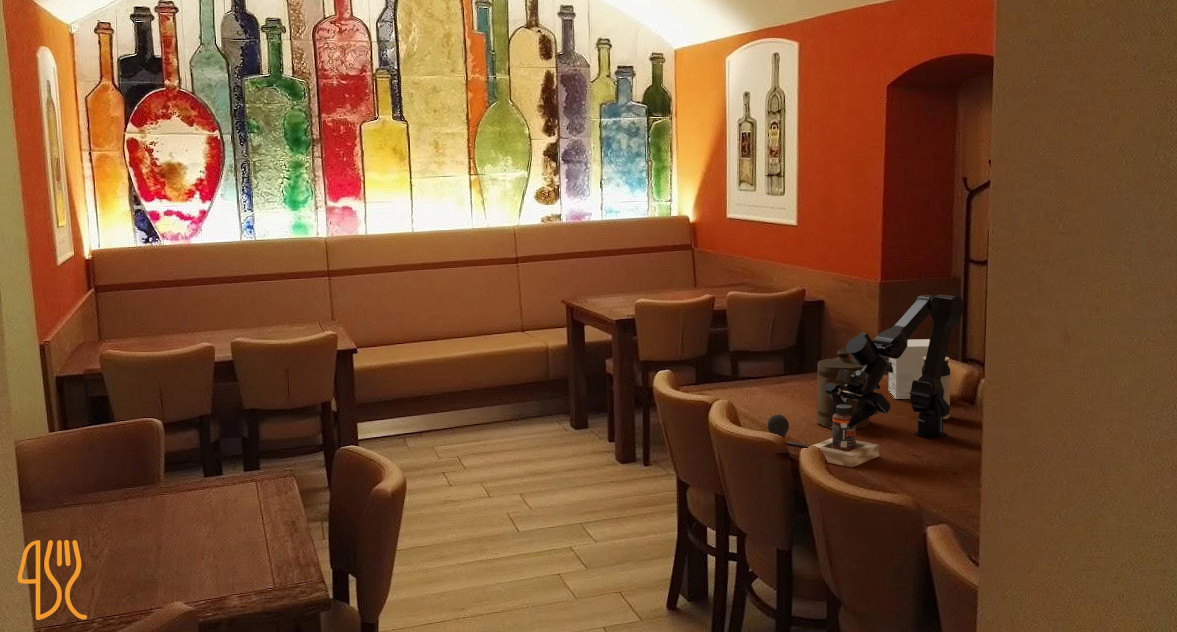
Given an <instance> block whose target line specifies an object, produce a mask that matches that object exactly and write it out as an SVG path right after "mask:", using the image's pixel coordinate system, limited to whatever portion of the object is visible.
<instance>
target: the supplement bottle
mask: <svg viewBox="0 0 1177 632" xmlns="http://www.w3.org/2000/svg"><path fill="white" fill-rule="evenodd" d="M836 411H837V412H836V413H835V414H834V415H833V424H832V425H833V426H832V428H831V431H832V435H831V436H832V437H831V438H832V446H833V448H834V449H836V450H841V451H851V450H854V449H855V447H856V441H857V429H856V425H855V426H853V427H851V428H850V427H849V426H848V424H849V422H850V419H851V418H852V416H853V413H852V406H851V405H837V406H836Z"/></svg>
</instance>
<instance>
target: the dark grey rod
mask: <svg viewBox="0 0 1177 632" xmlns="http://www.w3.org/2000/svg"><path fill="white" fill-rule="evenodd" d="M787 442H788V444H795V445H800V446H801V445H802V446H803V447H802V448H804V447H806V446H812V445H811V444H810V445H809V444H805V443H804V444H803V443H797V442H791V441H787Z"/></svg>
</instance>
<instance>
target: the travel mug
mask: <svg viewBox="0 0 1177 632" xmlns="http://www.w3.org/2000/svg"><path fill="white" fill-rule="evenodd" d="M923 360H924V364H925V360H926V356H925V357H923ZM949 360H950V357H948V356H946V357H945V362H944V366H943V371H942V375H941V383H942V386H943V388H944V397H943V398H944V400H945V401H946V402H947V403H948V405H949V406H950V405H951V404H950V403H951V400H950V398H951V367H950V365H949ZM923 369H924V365H923V367H922V373H923ZM950 407H951V406H950ZM950 412H951V411H950ZM950 412H949V415H946V416H945V417H943V419H945V420H947V419H949V418H950V414H951V413H950Z"/></svg>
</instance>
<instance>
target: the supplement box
mask: <svg viewBox="0 0 1177 632" xmlns="http://www.w3.org/2000/svg"><path fill="white" fill-rule="evenodd" d="M929 342H930V338H927V339H924V338H923V339H920V338H919V339H908V344H907V348H906V349H905V351H904V352H903V354H902V355H901V356H900V357H899V358H898V359H893V358H888V362H891V363H892V367H893V373H890V372H888V392H889V391H890V392H889V394H890V393H891V394H892V395H893V396H894V397H893V396H892V395H891V394H890V395H891V396H892V397H893V399H894V398H895V399H910V395H911V394H909V393H910V391H911V388H912V382H913V380H916V381H917V380H918V379H919V378H920V377H921V376H922V367H923V365H924V360H923V357H925V356H926V355H927V351H928V346H929Z"/></svg>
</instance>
